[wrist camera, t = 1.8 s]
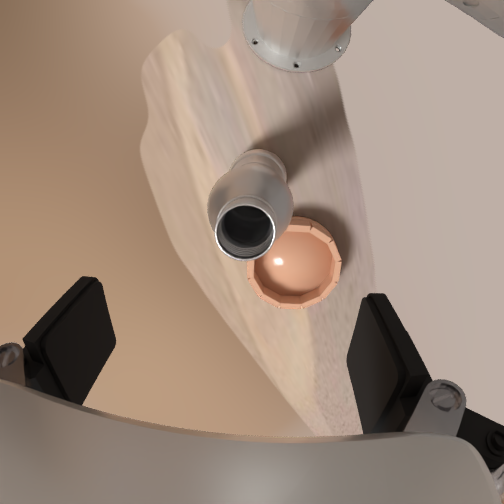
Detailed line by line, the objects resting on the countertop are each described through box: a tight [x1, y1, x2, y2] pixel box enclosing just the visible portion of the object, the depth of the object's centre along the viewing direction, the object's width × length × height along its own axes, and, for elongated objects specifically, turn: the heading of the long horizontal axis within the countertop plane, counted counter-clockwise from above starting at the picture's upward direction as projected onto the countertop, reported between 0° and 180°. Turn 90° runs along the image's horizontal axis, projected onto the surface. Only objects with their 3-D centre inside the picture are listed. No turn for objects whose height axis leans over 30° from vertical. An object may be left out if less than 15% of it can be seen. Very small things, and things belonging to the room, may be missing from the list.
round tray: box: [247, 216, 342, 309], centre depth 39 cm, size 12×12×3 cm
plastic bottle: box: [207, 149, 294, 261], centre depth 27 cm, size 6×7×20 cm
